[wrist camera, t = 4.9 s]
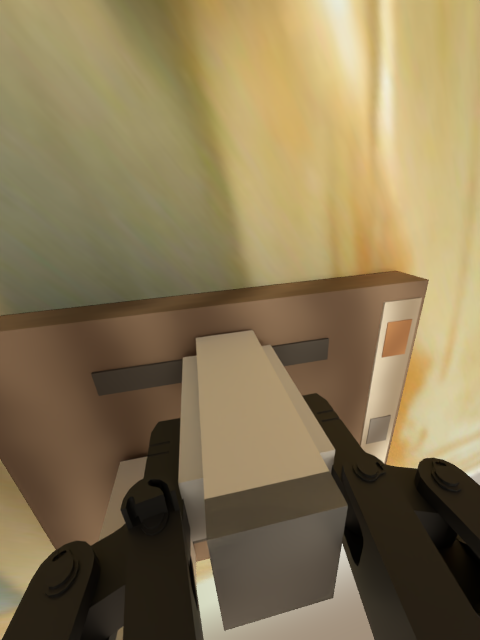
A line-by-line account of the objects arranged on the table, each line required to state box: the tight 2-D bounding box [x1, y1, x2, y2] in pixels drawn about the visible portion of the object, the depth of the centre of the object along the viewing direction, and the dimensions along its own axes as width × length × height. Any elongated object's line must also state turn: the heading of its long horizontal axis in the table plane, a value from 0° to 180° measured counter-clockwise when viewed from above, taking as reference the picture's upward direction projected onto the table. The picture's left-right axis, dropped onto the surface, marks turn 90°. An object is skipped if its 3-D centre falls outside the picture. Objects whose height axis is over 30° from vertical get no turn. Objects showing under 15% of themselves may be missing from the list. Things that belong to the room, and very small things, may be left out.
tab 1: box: [99, 457, 147, 640], centre depth 12 cm, size 3×4×9 cm
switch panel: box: [0, 271, 429, 562], centre depth 18 cm, size 25×22×3 cm
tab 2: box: [196, 330, 348, 630], centre depth 10 cm, size 3×4×9 cm
